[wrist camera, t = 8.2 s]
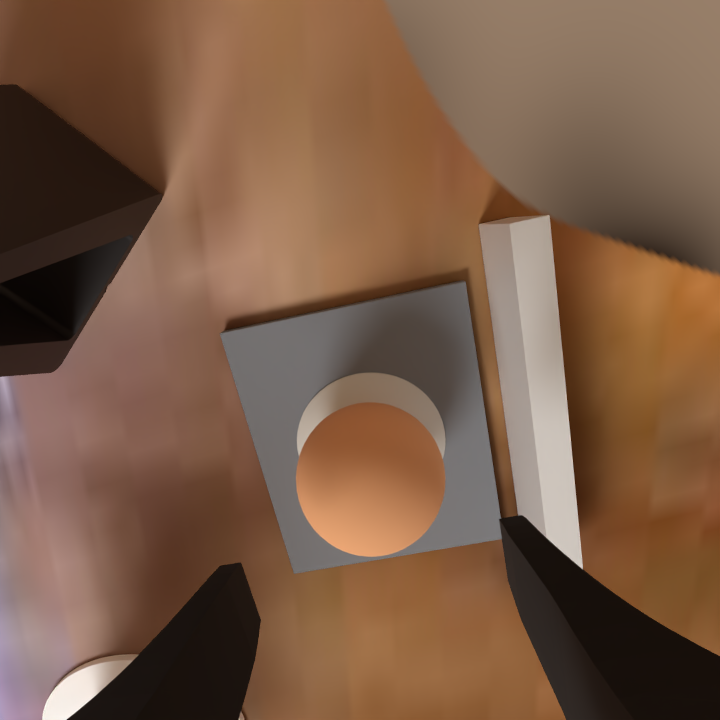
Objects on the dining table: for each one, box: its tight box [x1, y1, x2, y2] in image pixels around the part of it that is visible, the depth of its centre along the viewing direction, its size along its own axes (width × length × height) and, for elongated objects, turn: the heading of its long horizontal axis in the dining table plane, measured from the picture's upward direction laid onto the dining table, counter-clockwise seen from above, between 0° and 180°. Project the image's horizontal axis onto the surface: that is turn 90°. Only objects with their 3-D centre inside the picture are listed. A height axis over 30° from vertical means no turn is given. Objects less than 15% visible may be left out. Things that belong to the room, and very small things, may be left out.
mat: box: [220, 280, 502, 574], centre depth 20 cm, size 10×12×1 cm
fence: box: [479, 215, 583, 569], centre depth 18 cm, size 1×16×4 cm, turn 12°
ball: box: [296, 402, 446, 557], centre depth 17 cm, size 6×6×6 cm
